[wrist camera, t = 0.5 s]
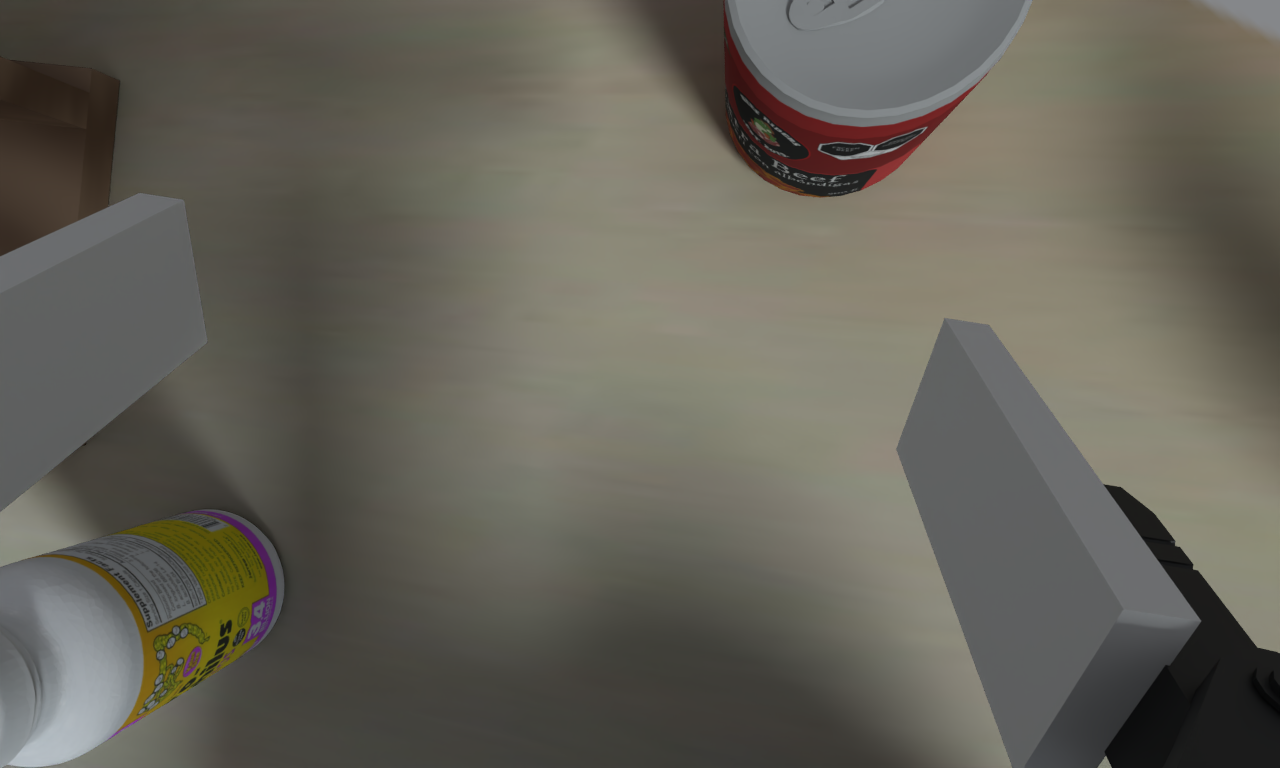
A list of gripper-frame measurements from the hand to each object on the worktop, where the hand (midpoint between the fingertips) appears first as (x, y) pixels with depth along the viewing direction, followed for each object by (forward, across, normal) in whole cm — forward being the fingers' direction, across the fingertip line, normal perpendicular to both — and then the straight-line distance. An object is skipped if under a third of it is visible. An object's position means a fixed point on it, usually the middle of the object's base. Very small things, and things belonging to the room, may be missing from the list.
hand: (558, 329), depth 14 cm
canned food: (+20, -7, -1) cm, 22 cm away
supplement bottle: (+12, +15, +21) cm, 28 cm away
